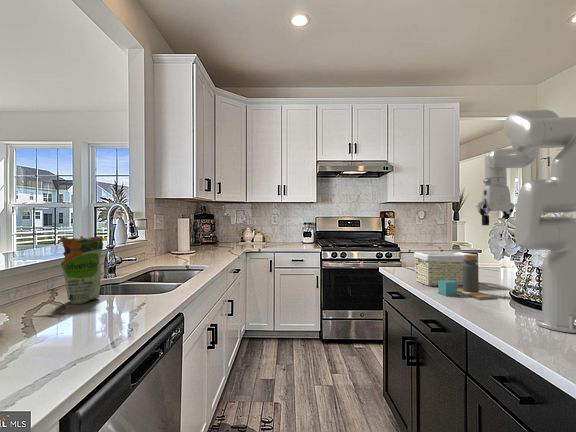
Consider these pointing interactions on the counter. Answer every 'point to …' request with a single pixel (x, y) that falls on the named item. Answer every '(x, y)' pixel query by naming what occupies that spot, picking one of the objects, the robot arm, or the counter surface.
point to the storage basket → (439, 267)
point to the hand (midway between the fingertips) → (495, 225)
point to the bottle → (470, 274)
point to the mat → (450, 295)
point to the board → (475, 294)
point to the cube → (447, 287)
